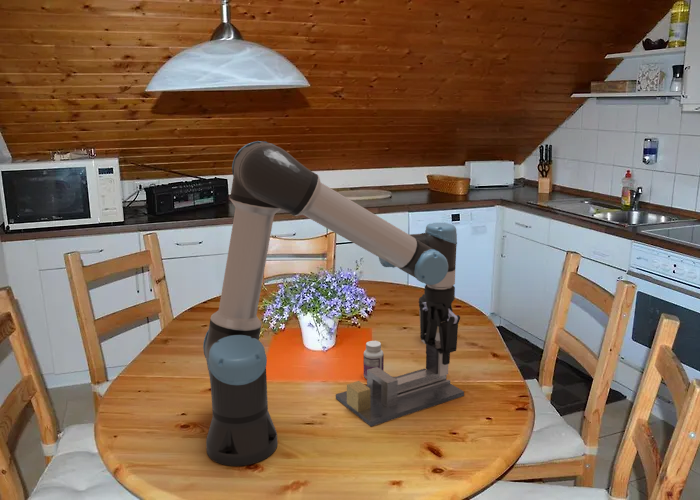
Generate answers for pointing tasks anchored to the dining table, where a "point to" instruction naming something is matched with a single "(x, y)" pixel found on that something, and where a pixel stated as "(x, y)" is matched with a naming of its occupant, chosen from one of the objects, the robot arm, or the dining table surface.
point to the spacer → (358, 396)
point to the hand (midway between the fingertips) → (437, 371)
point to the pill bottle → (373, 356)
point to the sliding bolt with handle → (423, 372)
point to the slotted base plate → (399, 397)
